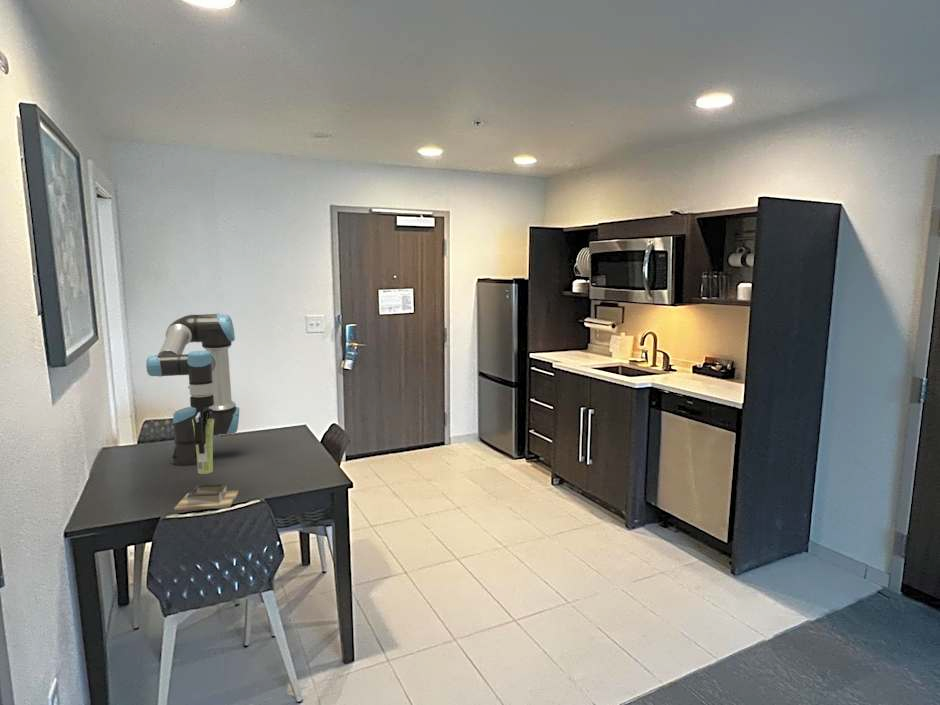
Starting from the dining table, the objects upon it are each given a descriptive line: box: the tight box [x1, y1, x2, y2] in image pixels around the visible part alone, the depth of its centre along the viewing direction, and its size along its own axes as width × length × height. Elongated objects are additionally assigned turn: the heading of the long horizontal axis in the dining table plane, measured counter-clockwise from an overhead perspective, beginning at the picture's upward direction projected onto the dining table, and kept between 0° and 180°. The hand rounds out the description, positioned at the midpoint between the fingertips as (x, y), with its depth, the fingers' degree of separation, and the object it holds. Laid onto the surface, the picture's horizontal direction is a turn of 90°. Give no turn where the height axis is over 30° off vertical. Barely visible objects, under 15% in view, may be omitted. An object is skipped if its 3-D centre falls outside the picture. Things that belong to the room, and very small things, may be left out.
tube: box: [192, 419, 214, 475], centre depth 206 cm, size 6×5×20 cm
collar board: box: [173, 483, 240, 511], centre depth 208 cm, size 14×18×4 cm
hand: (205, 459), depth 206 cm, fingers closed on tube, 5 cm apart
